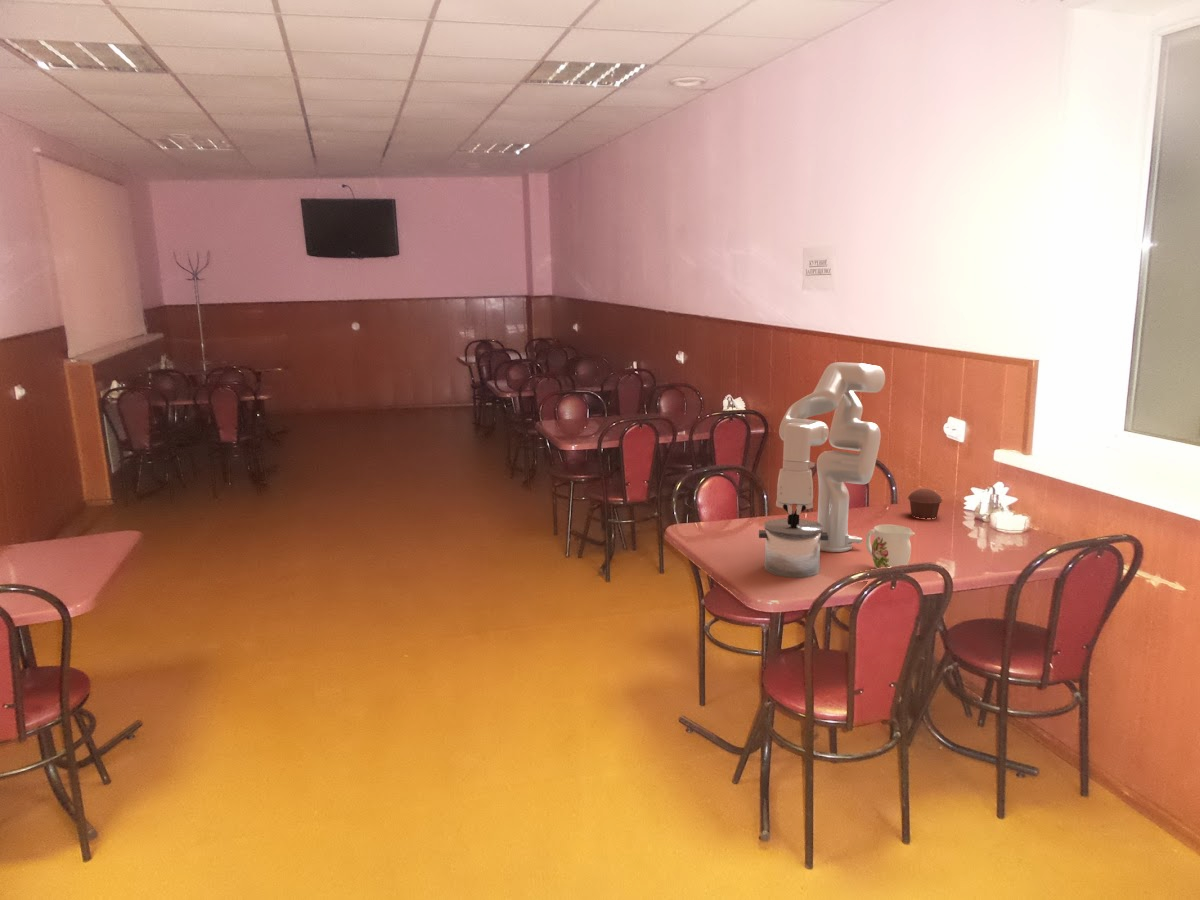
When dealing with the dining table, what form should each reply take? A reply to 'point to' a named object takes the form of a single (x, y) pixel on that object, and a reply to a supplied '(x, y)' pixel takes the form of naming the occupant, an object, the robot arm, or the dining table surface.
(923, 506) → the muffin
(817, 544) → the cooker pot
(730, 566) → the dining table surface
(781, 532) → the lid
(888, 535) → the pitcher
